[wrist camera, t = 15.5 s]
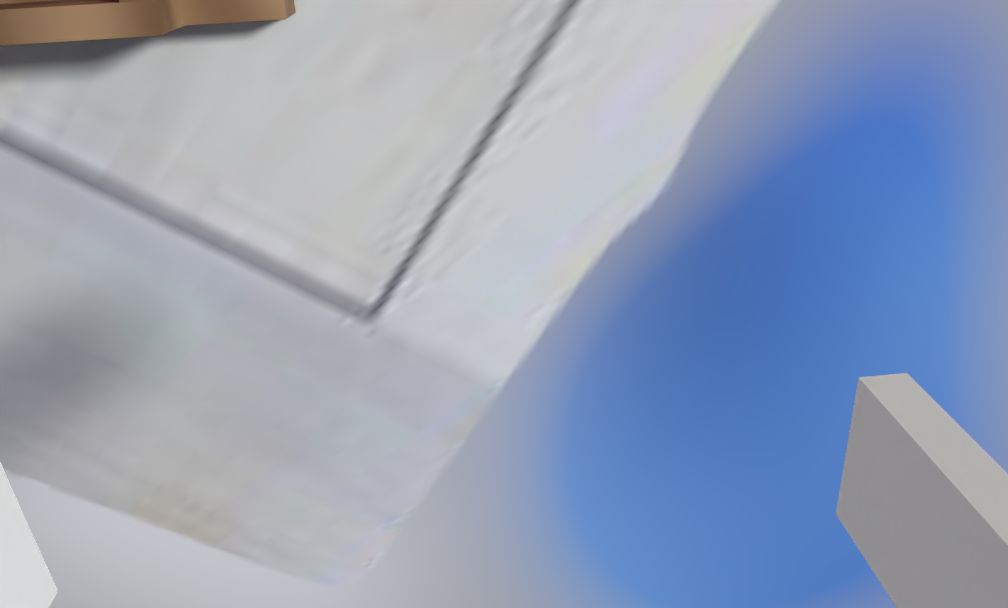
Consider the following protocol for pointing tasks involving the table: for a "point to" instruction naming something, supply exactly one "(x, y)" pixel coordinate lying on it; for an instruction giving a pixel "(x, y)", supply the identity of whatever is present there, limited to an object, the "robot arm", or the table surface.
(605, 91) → the table surface
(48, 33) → the wooden condiment caddy
